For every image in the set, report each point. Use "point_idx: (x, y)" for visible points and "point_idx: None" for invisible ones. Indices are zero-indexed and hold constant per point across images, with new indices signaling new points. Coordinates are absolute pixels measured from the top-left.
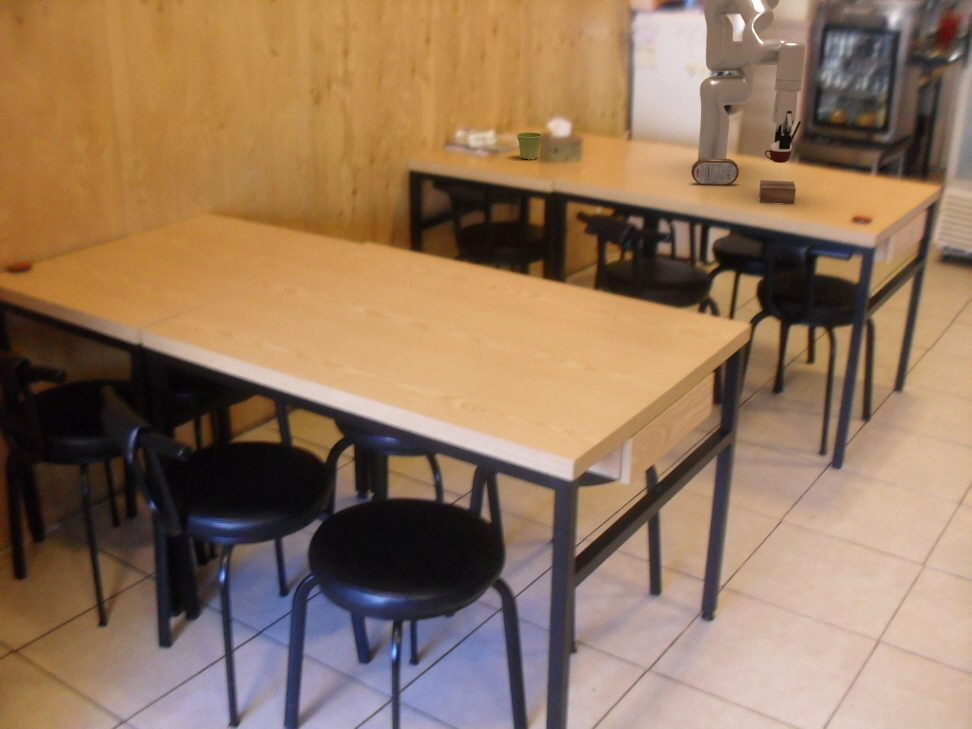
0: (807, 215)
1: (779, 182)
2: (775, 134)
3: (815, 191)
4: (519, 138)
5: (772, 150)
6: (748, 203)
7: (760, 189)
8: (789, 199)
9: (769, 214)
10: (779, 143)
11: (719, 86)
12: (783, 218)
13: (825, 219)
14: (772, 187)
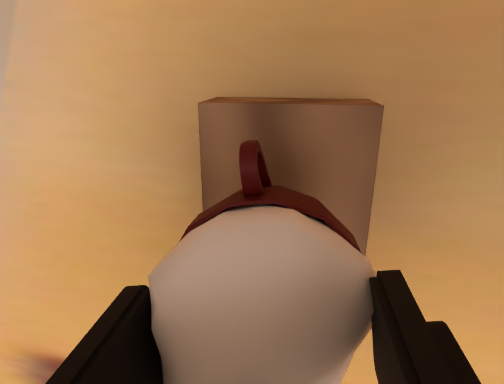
0: (73, 253)
1: (335, 203)
2: (414, 363)
3: (455, 332)
4: None
5: (212, 218)
6: (194, 43)
7: (288, 101)
8: None
9: (40, 126)
10: (103, 319)
11: None
12: (4, 172)
13: (44, 296)
14: (211, 159)
